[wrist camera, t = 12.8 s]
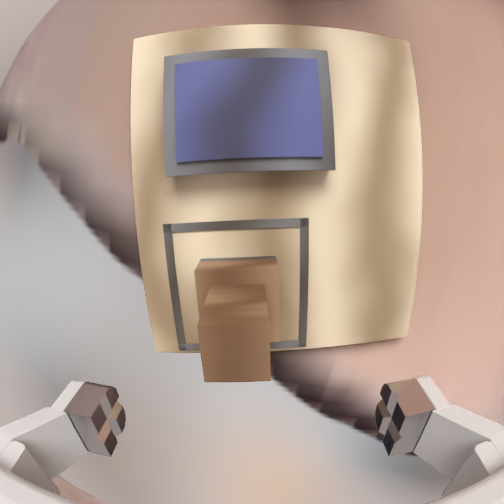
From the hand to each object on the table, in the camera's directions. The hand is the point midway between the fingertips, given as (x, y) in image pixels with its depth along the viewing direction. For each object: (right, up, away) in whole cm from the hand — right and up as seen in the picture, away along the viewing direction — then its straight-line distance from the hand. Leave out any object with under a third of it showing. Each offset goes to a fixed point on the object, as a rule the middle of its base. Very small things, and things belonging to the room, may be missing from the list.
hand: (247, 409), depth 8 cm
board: (+2, +8, +10) cm, 13 cm away
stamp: (-1, +2, +11) cm, 11 cm away
